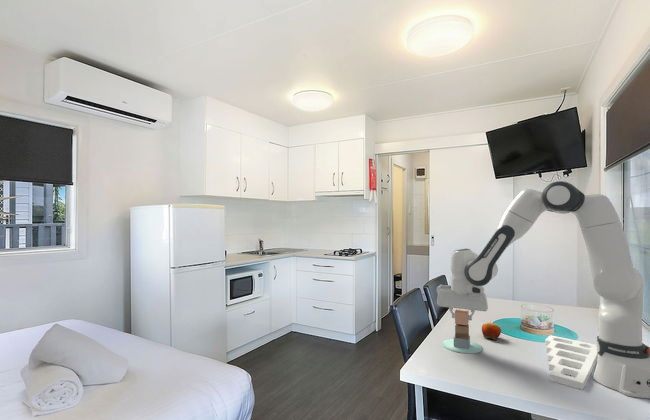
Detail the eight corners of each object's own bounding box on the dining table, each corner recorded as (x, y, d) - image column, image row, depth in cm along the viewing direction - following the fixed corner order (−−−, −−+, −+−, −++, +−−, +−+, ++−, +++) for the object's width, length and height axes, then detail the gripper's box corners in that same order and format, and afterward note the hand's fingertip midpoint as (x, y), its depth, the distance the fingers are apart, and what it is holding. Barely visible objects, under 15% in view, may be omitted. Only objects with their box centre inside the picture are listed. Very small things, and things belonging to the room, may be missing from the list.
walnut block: (467, 339, 142) (467, 327, 142) (455, 337, 144) (455, 325, 145) (468, 335, 147) (468, 324, 147) (456, 334, 149) (456, 322, 149)
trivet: (583, 391, 109) (583, 383, 109) (520, 373, 122) (520, 365, 122) (601, 352, 141) (601, 345, 141) (550, 341, 153) (549, 335, 154)
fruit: (480, 337, 152) (481, 319, 156) (481, 341, 158) (482, 324, 162) (501, 340, 149) (501, 322, 152) (501, 344, 154) (501, 327, 158)
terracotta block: (468, 322, 147) (468, 310, 147) (467, 325, 142) (467, 313, 142) (456, 320, 149) (456, 308, 149) (455, 323, 145) (454, 311, 145)
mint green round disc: (483, 343, 149) (483, 334, 149) (481, 356, 135) (481, 346, 135) (444, 337, 156) (444, 328, 156) (439, 349, 142) (439, 339, 142)
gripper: (435, 285, 148) (435, 317, 148) (487, 290, 139) (487, 324, 138) (437, 283, 154) (437, 314, 153) (487, 287, 144) (488, 320, 144)
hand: (461, 319), depth 146 cm, fingers closed on terracotta block, 5 cm apart
